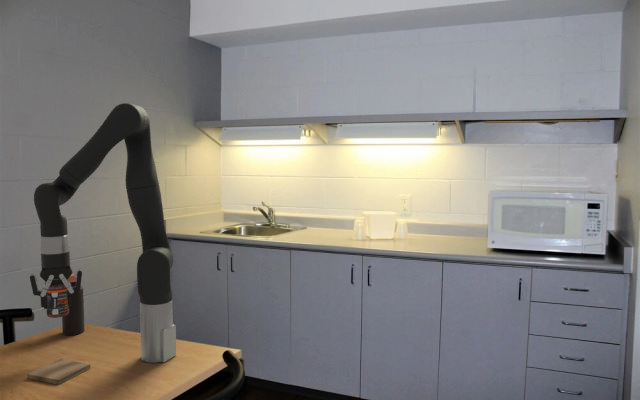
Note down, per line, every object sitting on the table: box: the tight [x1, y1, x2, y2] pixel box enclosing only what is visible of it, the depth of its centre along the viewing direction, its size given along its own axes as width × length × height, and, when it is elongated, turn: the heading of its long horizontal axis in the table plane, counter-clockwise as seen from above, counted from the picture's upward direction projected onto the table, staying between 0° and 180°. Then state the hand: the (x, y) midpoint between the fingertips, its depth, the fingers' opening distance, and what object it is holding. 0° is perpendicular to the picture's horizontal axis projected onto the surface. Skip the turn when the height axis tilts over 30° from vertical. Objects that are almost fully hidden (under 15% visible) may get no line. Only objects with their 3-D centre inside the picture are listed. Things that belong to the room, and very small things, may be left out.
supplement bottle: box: [45, 278, 69, 319], centre depth 153 cm, size 6×6×11 cm
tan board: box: [27, 358, 91, 385], centre depth 143 cm, size 11×11×1 cm
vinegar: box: [61, 274, 85, 336], centre depth 175 cm, size 7×7×20 cm
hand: (58, 306), depth 153 cm, fingers closed on supplement bottle, 6 cm apart
